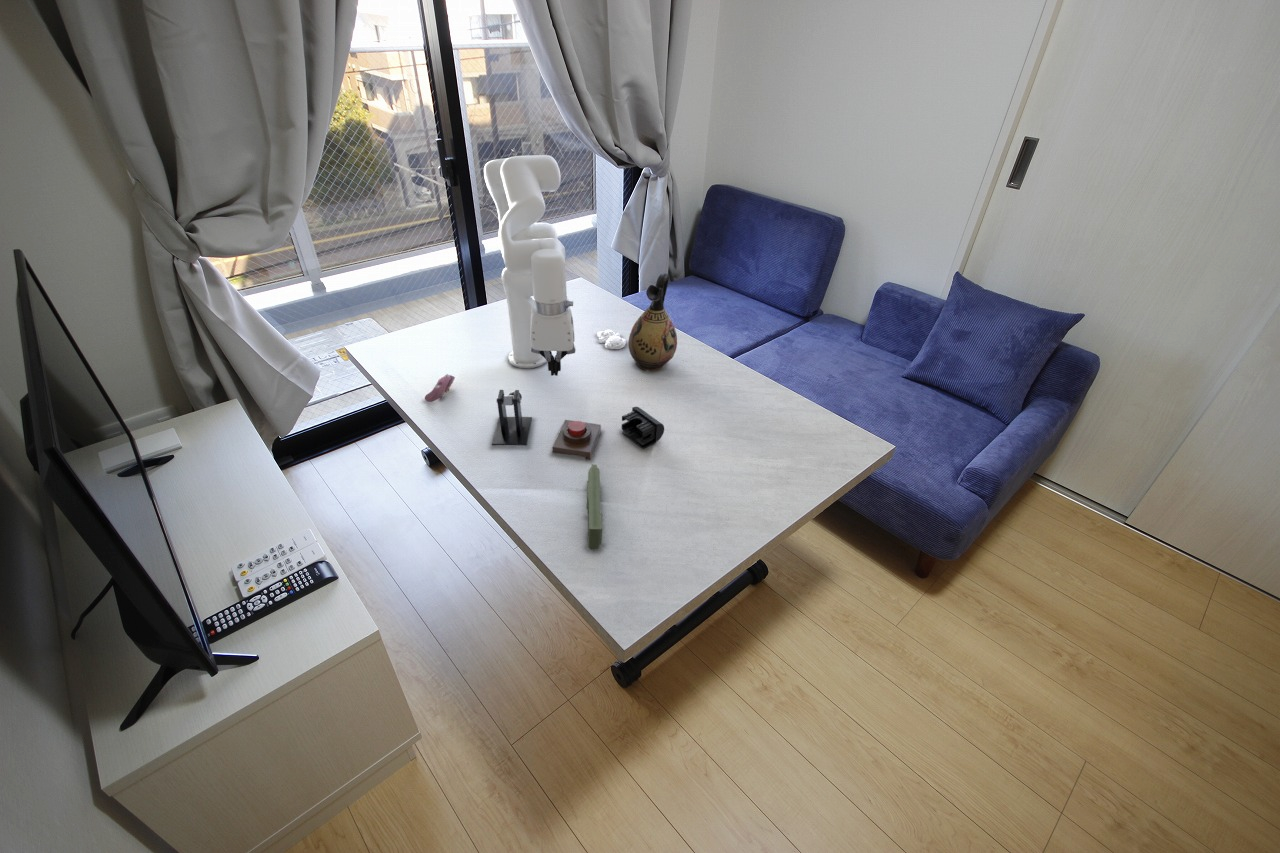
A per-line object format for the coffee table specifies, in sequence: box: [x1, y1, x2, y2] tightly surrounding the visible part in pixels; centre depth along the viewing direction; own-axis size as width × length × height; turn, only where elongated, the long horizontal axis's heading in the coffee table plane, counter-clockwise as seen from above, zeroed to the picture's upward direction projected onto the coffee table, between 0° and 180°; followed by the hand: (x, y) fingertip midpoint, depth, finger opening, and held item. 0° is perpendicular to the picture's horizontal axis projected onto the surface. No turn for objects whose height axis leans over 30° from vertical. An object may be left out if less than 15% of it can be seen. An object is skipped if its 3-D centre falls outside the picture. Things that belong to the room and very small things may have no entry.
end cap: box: [621, 406, 665, 450], centre depth 153 cm, size 10×7×7 cm
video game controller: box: [424, 373, 456, 403], centre depth 164 cm, size 10×5×7 cm, turn 168°
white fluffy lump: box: [596, 329, 627, 350], centre depth 194 cm, size 9×12×3 cm
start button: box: [568, 420, 585, 436], centre depth 148 cm, size 4×4×2 cm
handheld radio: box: [586, 463, 604, 551], centre depth 131 cm, size 7×3×25 cm
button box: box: [551, 419, 602, 461], centre depth 150 cm, size 12×10×4 cm
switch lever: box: [504, 390, 523, 406], centre depth 152 cm, size 13×4×4 cm, turn 2°
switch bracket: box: [491, 389, 533, 446], centre depth 149 cm, size 12×9×13 cm
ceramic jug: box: [627, 272, 678, 373], centre depth 176 cm, size 17×15×30 cm
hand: (554, 372), depth 142 cm, fingers closed
